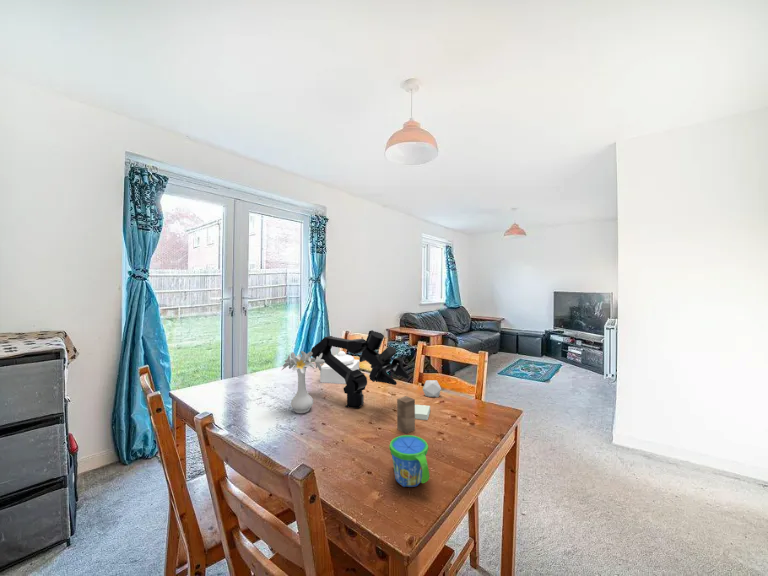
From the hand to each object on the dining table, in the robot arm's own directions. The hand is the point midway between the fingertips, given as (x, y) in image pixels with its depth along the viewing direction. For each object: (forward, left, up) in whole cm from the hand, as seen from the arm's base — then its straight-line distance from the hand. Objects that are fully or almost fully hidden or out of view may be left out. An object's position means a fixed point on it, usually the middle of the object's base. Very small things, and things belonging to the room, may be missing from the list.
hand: (402, 380), depth 125 cm
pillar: (+3, -10, -16) cm, 19 cm away
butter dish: (-45, +42, -16) cm, 64 cm away
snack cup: (+9, -36, -16) cm, 41 cm away
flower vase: (-43, -1, -16) cm, 46 cm away
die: (+8, +27, -16) cm, 32 cm away
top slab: (+5, +4, -14) cm, 16 cm away
